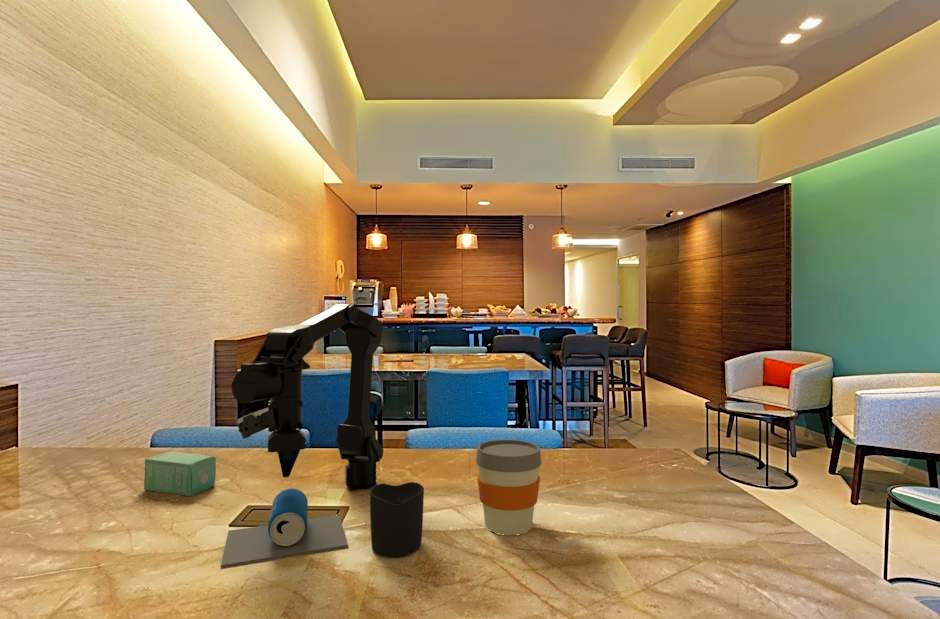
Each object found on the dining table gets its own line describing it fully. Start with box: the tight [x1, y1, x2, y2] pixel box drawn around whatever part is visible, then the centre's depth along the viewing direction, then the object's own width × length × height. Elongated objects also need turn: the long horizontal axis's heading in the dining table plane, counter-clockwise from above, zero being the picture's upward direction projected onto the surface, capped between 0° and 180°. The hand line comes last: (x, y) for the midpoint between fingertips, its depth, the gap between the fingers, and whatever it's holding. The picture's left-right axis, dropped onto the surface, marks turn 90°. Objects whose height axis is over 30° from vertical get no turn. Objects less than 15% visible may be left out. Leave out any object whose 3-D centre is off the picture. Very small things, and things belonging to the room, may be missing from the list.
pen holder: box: [369, 481, 425, 559], centre depth 88 cm, size 9×9×10 cm
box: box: [143, 450, 217, 497], centre depth 116 cm, size 7×14×8 cm, turn 75°
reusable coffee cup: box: [475, 439, 542, 536], centre depth 97 cm, size 12×13×15 cm
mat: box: [220, 514, 349, 568], centre depth 90 cm, size 20×14×1 cm
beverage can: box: [267, 487, 309, 546], centre depth 92 cm, size 6×6×12 cm
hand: (286, 476), depth 96 cm, fingers closed
